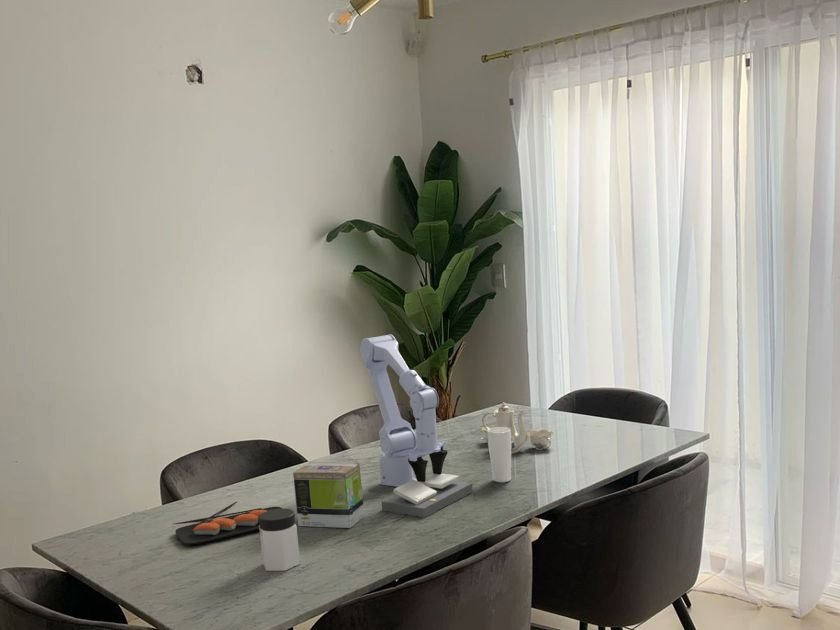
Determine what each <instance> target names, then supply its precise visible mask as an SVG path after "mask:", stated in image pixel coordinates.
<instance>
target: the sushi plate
mask: <svg viewBox="0 0 840 630" xmlns="http://www.w3.org/2000/svg"><path fill="white" fill-rule="evenodd" d="M237 503H238V501H234V502H232V503H230V504H229V505H228V506H226V507H224V508H222V509H221V510H219V511H218V512H216V513H214V514H212V515H211V516H209V517H203V518H197V519H190V520H187V521H186V520H185V521H181V522H176V523H175V522H173V525H180V524H186V523H187V524H188V523H190V524H188V525H185V526H181V527H178V528H176V529H175V536H177V539H179V541H180V542H181V543H182V544H184V545H187V546H189V545H191V546H192V545H197V544H202V543H207V542H211V541H216V540H219V539H224V538H228V537H233V536H237V535H241V534H246V533H250V532H253V531H254V532H255V531H258V530H259V515H260V514H262V513H263V512H266V511H269V510H273V509H284V508H283V507H280V506H269V507H264V508H261V507H260V508H254V509H249V510H242V511H238V512H232V513H225V514H221V513H223V512H225V511H226V510H228V509H231V508H232V507H233V506H234V505H235V504H237ZM219 514H220V515H219ZM191 523H192V524H191Z"/></svg>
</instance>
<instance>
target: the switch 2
mask: <svg viewBox="0 0 840 630" xmlns="http://www.w3.org/2000/svg"><path fill="white" fill-rule="evenodd" d="M460 480H461V476H460V475H455V474H449V473H443V472H441V474H433V473H432V474H431V475H429V476H427V477H426V480H425V482H420V483H422V484H424V485H425V486H427V487H434V488H441V489H442V488H444V487H446V486H448V485H450V484H452V483H454V482H456V481H460ZM418 482H419V481H418Z"/></svg>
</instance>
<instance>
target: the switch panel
mask: <svg viewBox="0 0 840 630" xmlns="http://www.w3.org/2000/svg"><path fill="white" fill-rule="evenodd" d="M429 488H431V489H433V490H435V491H437V495H435V496H433V497H431V498H429V499H427V500H425V501H423V502H421V503H420V504H418V505H416V504H414V503H412V502H410V501H408V500H407V499H405V498H403V497H401V496H399V495H397V494H394V495H391V496H390V497H388V498H386V499H383V500H381V510H382V511H385V512H390V513H394V514H395V513H396V514H400V513H401V515H405V514H408V515H407V516H411V515H412V516H411V517H416V516H419V517H418V518H422V517H424V518H423V519H425V518H426V516H427V517H428V516H430V514H431V515H433V514H434V513H436V512H438V511H439V509H440V510H441V508H442V509H444V508H446V507H447V505H448V506H450V505H451V504H454V503H455V502H457V501H459V500H460V498H461V499H462V498H464V497H466V496H468V495H469V493H470V494H472V493H473V491H474V490H473V488H474V487H473V482H468V481H467V482H465V481H460V480H458V481H456V482H454V483H452V484H450V485H448V486H446V487H444V488H442V489H441V488H434V487H429ZM471 492H472V493H471ZM467 494H468V495H467ZM458 499H459V500H458ZM454 501H455V502H454ZM445 506H446V507H445ZM443 507H444V508H443ZM437 510H438V511H437ZM432 513H433V514H432Z"/></svg>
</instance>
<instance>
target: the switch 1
mask: <svg viewBox="0 0 840 630" xmlns="http://www.w3.org/2000/svg"><path fill="white" fill-rule="evenodd" d="M393 494H394V495H396V494H397V495H399V496H401V497H403V498H405V499H407V500H408V501H410V502H412V503H414V504H416V505H418V504H420V503H421V502H423V501H425V500H427V499H429V498H431V497H433V496H435V495H437V491H435V490H433V489H431V488H429V487H427V486H425V485H424V484H422V483H420V482H418V481H416V480H412V481H410V482H408V483H406V484H404V485H401V486H399V487H395V488H393Z"/></svg>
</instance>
